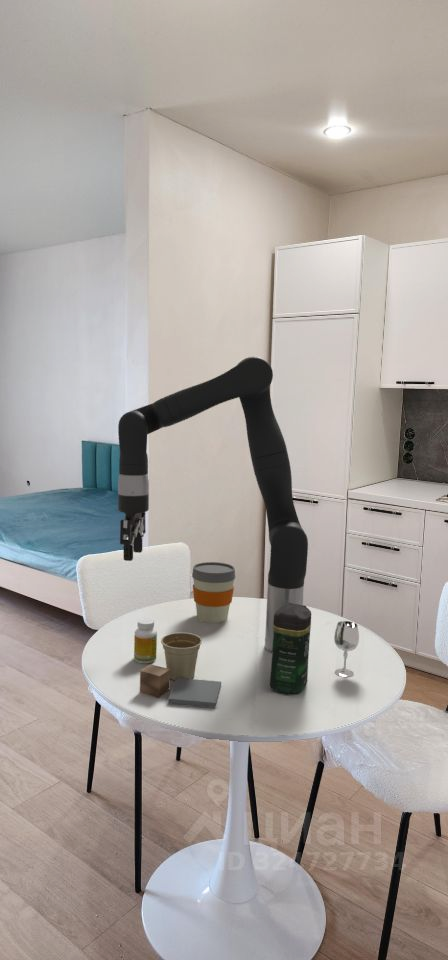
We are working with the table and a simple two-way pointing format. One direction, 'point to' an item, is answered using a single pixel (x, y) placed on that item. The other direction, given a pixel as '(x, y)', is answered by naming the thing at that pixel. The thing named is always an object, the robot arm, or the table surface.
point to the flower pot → (181, 654)
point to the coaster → (195, 693)
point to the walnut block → (154, 680)
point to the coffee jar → (290, 649)
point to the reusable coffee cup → (213, 590)
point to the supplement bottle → (145, 641)
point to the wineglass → (346, 642)
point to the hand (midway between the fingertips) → (133, 556)
